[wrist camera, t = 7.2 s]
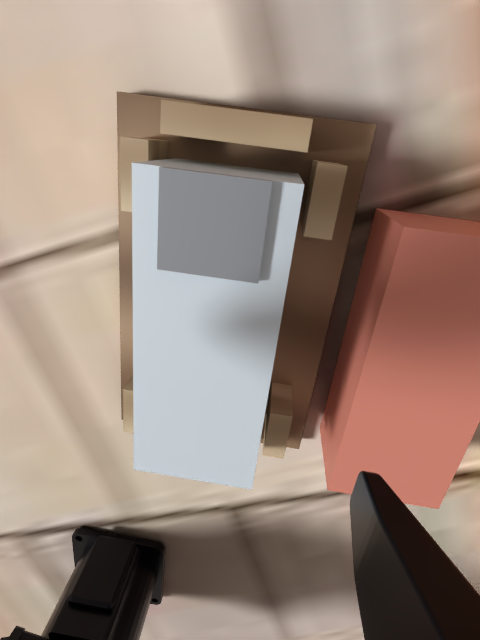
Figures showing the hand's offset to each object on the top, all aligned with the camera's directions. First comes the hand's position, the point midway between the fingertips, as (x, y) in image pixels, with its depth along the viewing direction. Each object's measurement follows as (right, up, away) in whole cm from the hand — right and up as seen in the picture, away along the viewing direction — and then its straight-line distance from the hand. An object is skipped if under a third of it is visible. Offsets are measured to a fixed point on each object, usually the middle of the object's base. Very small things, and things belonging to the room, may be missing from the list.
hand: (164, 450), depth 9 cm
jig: (+1, +4, +10) cm, 11 cm away
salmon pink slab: (+9, +2, +10) cm, 14 cm away
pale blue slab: (+1, +4, +9) cm, 10 cm away
